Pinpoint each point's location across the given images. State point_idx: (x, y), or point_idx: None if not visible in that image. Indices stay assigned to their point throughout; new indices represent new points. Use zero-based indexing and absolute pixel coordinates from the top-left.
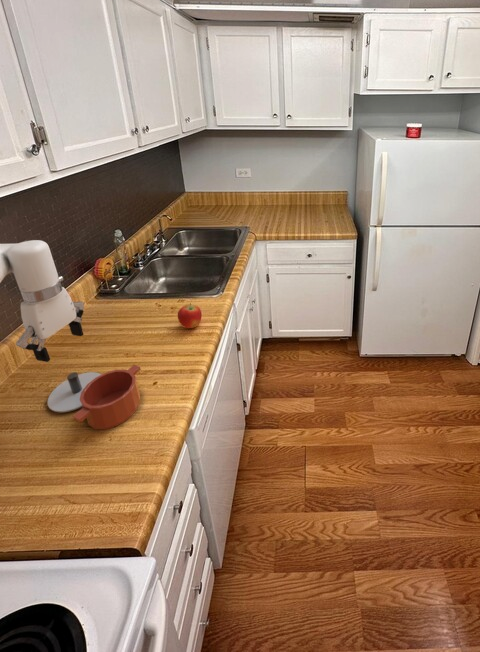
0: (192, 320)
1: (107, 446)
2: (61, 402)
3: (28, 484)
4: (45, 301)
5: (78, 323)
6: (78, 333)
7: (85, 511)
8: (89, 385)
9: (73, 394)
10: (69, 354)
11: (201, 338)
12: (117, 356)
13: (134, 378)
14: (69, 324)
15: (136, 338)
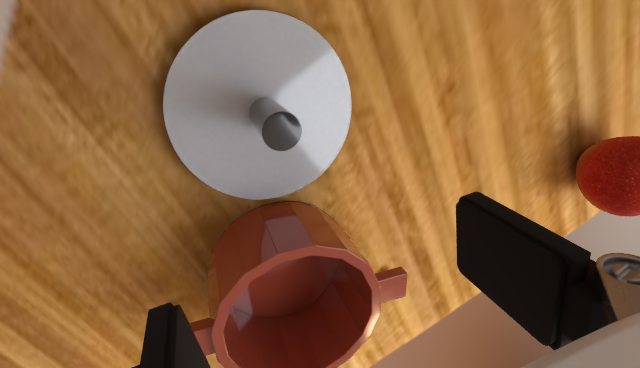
0: (607, 211)
1: None
2: (202, 121)
3: (5, 321)
4: None
5: (568, 341)
6: (474, 271)
7: None
8: (279, 263)
9: (247, 121)
10: None
11: None
12: (433, 64)
13: (362, 341)
14: (550, 264)
15: (519, 40)
